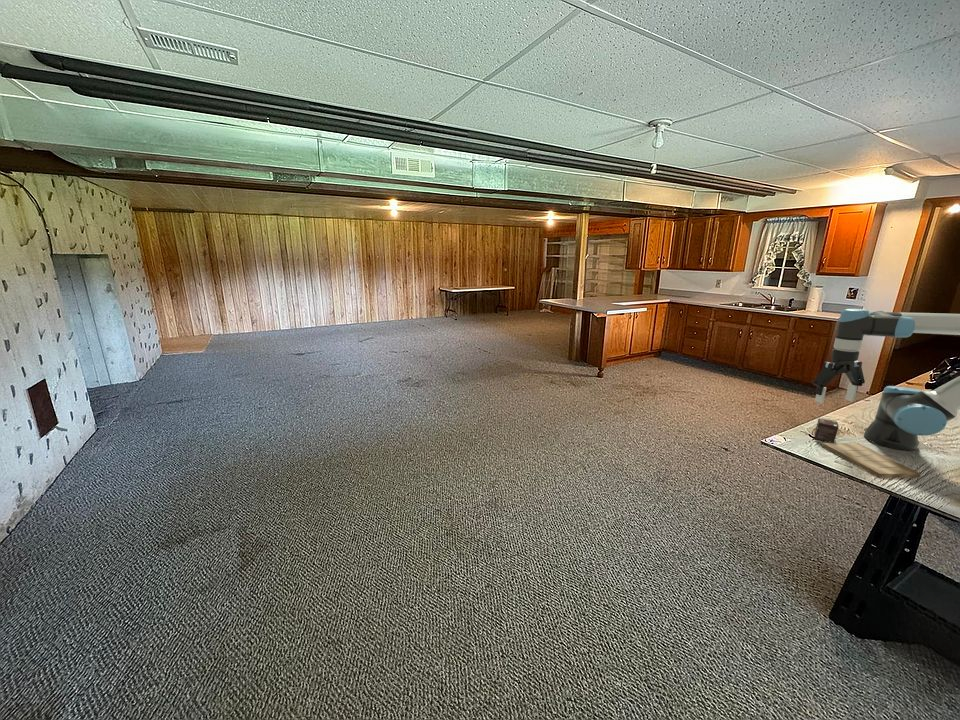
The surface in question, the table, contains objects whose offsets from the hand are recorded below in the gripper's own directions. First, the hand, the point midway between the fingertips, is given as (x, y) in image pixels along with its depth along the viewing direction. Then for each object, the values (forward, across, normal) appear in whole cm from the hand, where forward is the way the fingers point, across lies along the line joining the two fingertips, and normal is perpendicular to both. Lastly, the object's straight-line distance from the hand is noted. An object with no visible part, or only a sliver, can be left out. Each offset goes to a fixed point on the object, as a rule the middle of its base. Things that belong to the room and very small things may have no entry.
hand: (834, 401), depth 150 cm
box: (+17, -2, -2) cm, 18 cm away
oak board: (+17, 0, +16) cm, 23 cm away
